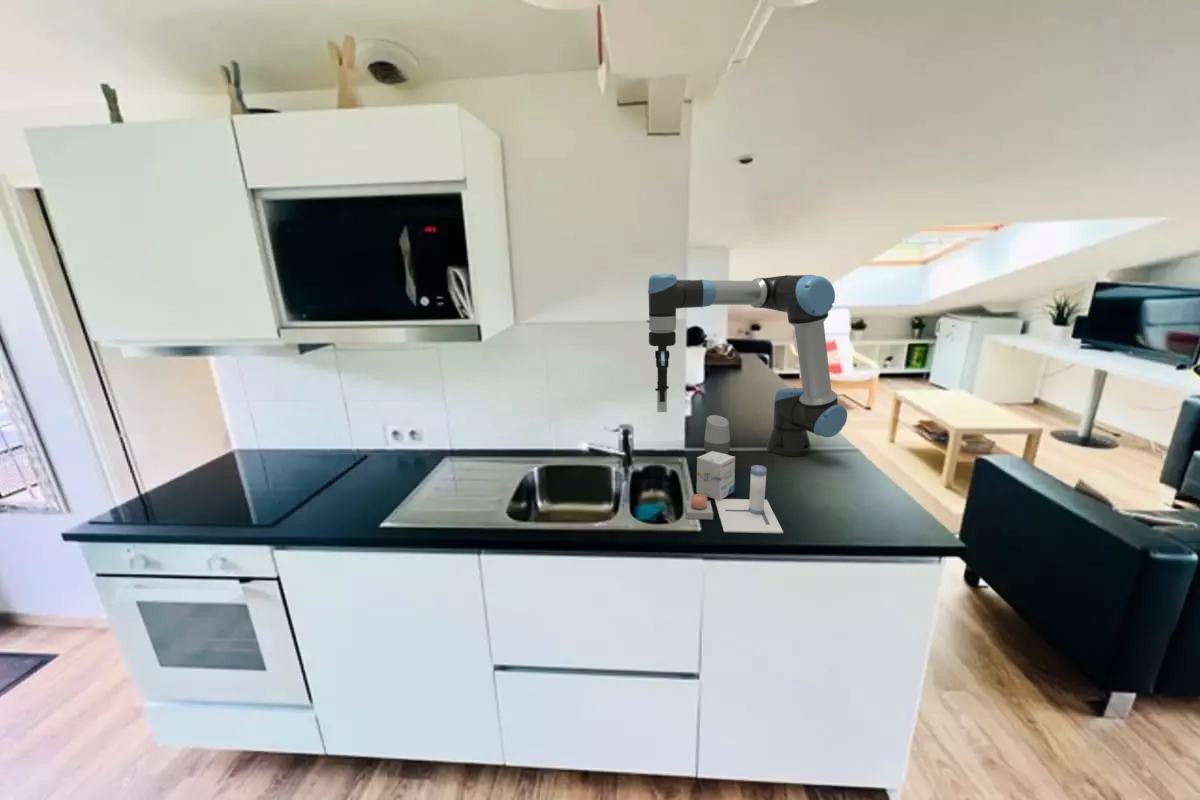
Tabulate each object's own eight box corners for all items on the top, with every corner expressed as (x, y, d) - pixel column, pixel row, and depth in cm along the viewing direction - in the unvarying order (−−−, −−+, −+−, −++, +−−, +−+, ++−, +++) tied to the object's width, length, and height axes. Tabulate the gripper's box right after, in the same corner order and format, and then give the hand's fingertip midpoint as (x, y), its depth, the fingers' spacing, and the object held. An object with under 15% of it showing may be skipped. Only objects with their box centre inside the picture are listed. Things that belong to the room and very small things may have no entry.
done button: (690, 507, 139) (690, 493, 138) (705, 507, 138) (706, 493, 137) (691, 514, 135) (691, 500, 134) (707, 515, 134) (708, 501, 133)
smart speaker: (718, 460, 172) (720, 423, 169) (698, 453, 179) (699, 417, 176) (735, 454, 178) (736, 417, 174) (714, 447, 185) (716, 412, 181)
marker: (747, 507, 138) (749, 465, 135) (762, 507, 138) (764, 465, 134) (750, 514, 134) (752, 471, 131) (765, 514, 134) (768, 471, 130)
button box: (685, 506, 140) (685, 500, 140) (709, 507, 140) (710, 500, 139) (687, 518, 134) (687, 512, 133) (712, 519, 133) (713, 512, 132)
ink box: (711, 484, 154) (712, 449, 151) (734, 492, 148) (736, 455, 145) (695, 493, 148) (696, 456, 145) (719, 501, 142) (720, 463, 139)
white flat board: (714, 500, 144) (714, 498, 144) (766, 500, 142) (766, 499, 142) (723, 532, 127) (724, 530, 126) (783, 533, 125) (783, 531, 125)
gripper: (648, 328, 143) (649, 405, 149) (648, 334, 130) (649, 418, 136) (674, 327, 142) (673, 405, 148) (677, 333, 129) (676, 418, 136)
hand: (662, 411), depth 142 cm, fingers closed
